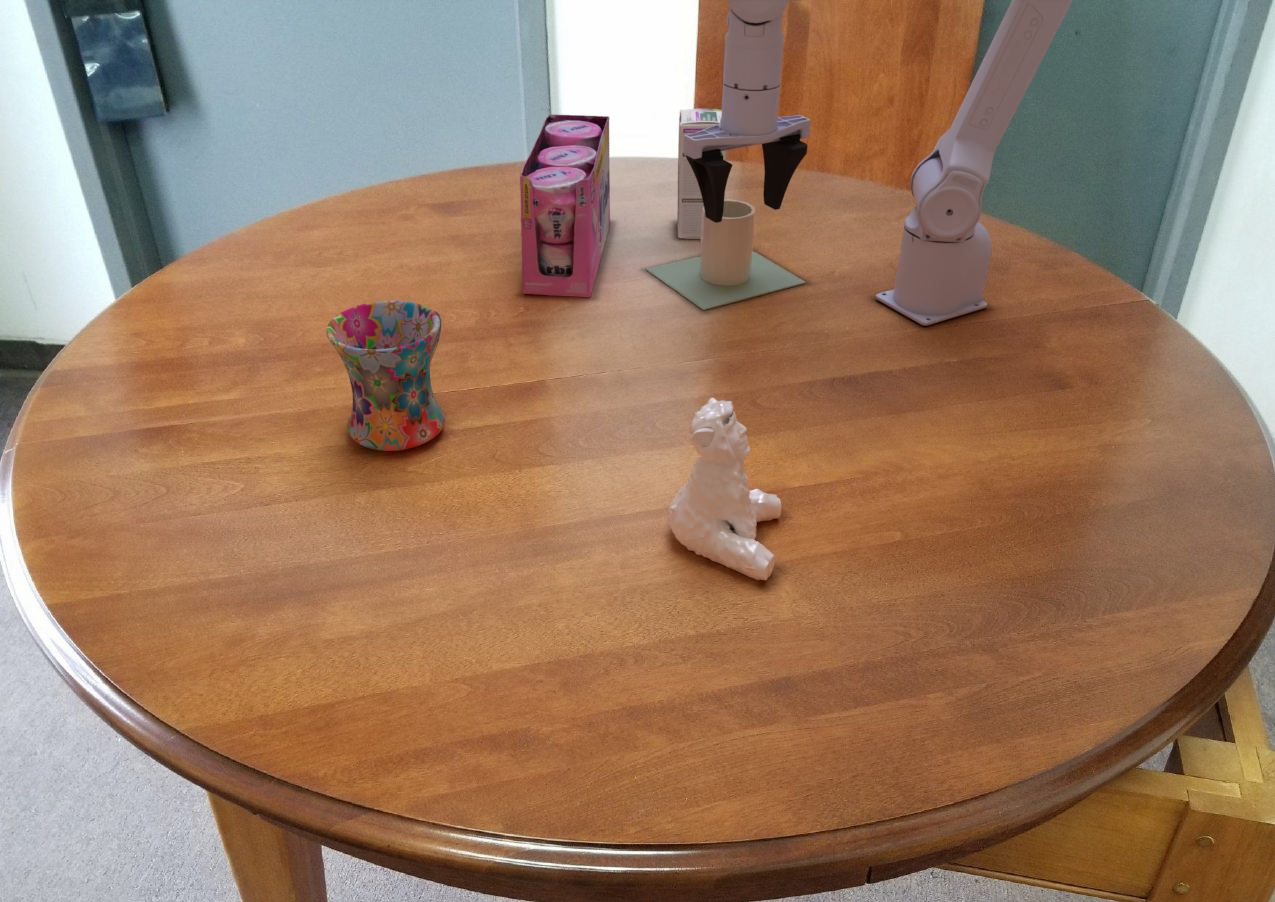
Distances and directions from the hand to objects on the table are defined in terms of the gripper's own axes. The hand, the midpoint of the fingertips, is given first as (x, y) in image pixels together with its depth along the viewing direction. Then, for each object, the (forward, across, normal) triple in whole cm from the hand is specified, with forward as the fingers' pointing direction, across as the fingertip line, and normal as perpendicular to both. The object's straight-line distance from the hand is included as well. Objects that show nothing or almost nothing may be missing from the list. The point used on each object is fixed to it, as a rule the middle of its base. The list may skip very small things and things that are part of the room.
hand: (743, 212), depth 115 cm
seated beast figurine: (+10, +26, +36) cm, 46 cm away
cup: (+9, -1, -4) cm, 10 cm away
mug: (+10, +42, +8) cm, 44 cm away
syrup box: (+10, -6, -17) cm, 21 cm away
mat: (+9, -1, -4) cm, 10 cm away
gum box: (+10, +12, -18) cm, 24 cm away
